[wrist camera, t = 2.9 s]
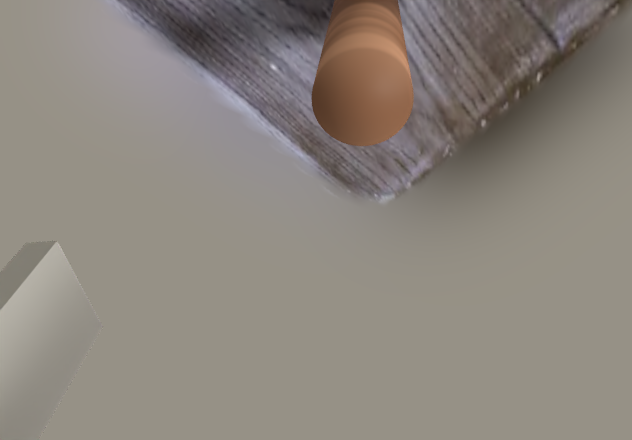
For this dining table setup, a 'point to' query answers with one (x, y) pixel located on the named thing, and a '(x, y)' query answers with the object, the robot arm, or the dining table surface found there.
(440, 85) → the dining table surface
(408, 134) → the dining table surface
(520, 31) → the dining table surface
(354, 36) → the lever
